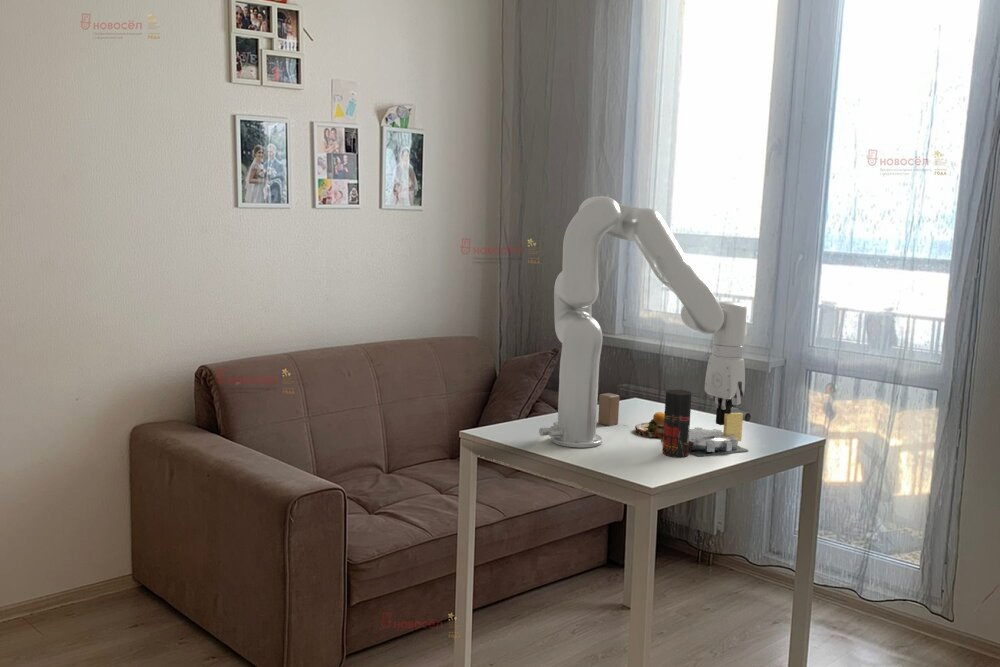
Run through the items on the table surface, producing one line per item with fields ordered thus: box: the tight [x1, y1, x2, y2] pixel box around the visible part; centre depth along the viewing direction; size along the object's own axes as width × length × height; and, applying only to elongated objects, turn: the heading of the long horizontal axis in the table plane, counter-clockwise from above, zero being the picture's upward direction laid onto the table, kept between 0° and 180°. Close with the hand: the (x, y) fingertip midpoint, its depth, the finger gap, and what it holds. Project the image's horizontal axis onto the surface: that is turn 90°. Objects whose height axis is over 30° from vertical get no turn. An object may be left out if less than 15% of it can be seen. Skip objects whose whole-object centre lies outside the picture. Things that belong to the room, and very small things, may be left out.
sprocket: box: [688, 412, 744, 452], centre depth 226 cm, size 18×16×7 cm
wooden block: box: [597, 392, 620, 427], centre depth 246 cm, size 4×4×8 cm
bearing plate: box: [660, 439, 749, 458], centre depth 226 cm, size 16×15×1 cm
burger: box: [634, 411, 665, 440], centre depth 238 cm, size 12×12×8 cm
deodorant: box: [661, 389, 693, 459], centre depth 217 cm, size 6×6×15 cm
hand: (722, 424), depth 230 cm, fingers closed
